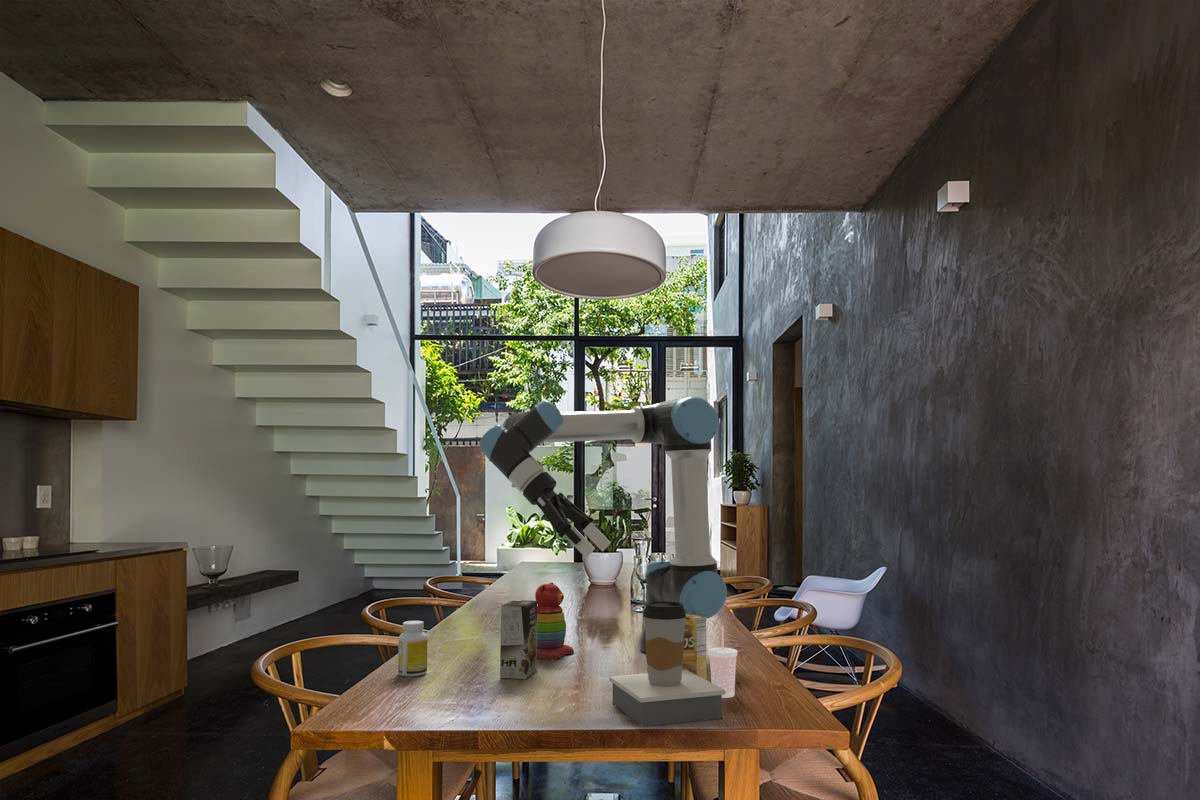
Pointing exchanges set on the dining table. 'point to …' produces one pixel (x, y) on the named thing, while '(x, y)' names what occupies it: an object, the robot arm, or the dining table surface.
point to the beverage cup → (723, 667)
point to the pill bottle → (412, 650)
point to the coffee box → (518, 639)
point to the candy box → (695, 645)
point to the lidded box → (667, 699)
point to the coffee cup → (664, 642)
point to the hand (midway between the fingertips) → (599, 550)
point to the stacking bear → (550, 623)
